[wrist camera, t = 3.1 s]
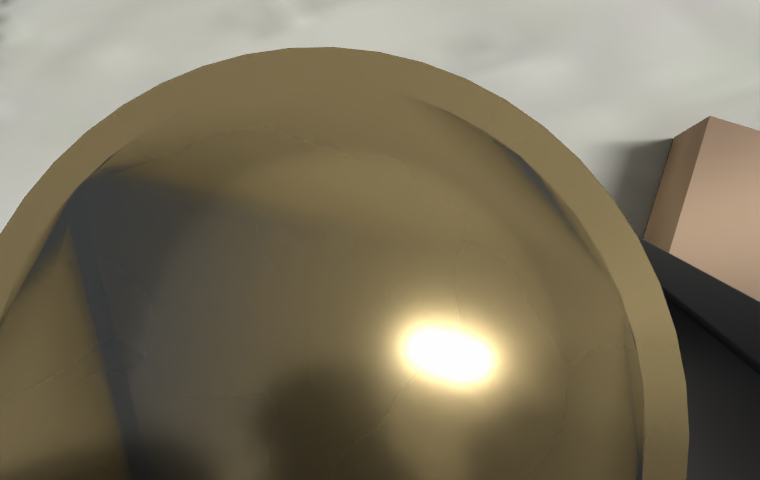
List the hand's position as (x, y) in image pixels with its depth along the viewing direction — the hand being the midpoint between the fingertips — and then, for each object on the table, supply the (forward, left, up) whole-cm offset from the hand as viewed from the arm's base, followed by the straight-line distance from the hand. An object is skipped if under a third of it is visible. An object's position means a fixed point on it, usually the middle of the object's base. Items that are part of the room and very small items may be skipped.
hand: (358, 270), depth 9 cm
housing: (-1, -1, -7) cm, 7 cm away
